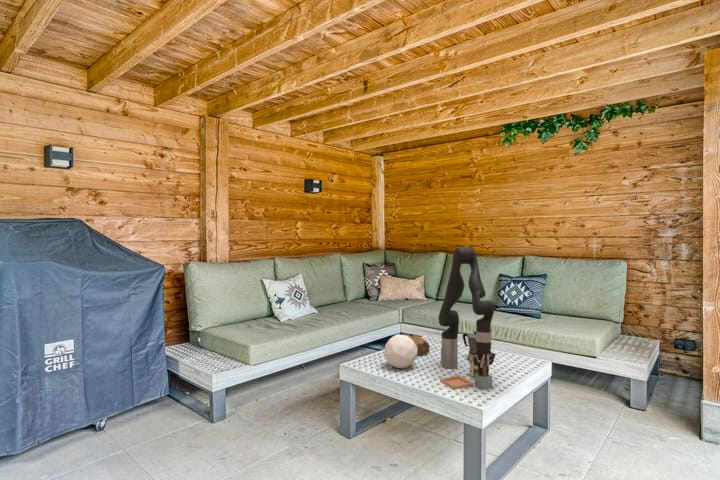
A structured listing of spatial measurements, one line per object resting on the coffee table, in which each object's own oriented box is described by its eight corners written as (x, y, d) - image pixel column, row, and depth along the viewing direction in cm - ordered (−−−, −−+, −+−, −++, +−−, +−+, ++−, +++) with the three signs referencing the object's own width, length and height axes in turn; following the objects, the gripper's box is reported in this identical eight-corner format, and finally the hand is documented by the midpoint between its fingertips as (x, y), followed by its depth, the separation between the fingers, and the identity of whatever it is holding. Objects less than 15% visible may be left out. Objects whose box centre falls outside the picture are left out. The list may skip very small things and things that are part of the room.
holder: (474, 387, 212) (474, 373, 212) (484, 385, 215) (484, 372, 215) (482, 391, 207) (482, 377, 207) (492, 389, 209) (492, 376, 209)
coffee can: (492, 377, 227) (492, 351, 227) (480, 381, 221) (480, 355, 221) (477, 372, 235) (477, 347, 235) (465, 376, 229) (465, 350, 229)
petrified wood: (432, 354, 268) (429, 340, 266) (414, 360, 264) (411, 346, 263) (420, 345, 286) (417, 332, 285) (403, 351, 283) (400, 337, 282)
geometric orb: (393, 380, 242) (372, 353, 242) (405, 359, 259) (385, 334, 258) (417, 370, 231) (396, 342, 231) (428, 349, 248) (408, 323, 247)
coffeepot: (488, 360, 256) (488, 331, 256) (480, 364, 249) (480, 334, 249) (466, 355, 267) (466, 327, 267) (458, 358, 260) (458, 330, 260)
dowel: (479, 386, 212) (479, 359, 211) (483, 385, 213) (483, 358, 212) (482, 388, 209) (482, 360, 209) (487, 387, 210) (487, 360, 210)
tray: (440, 383, 219) (440, 378, 219) (459, 379, 223) (459, 375, 223) (453, 391, 208) (453, 386, 208) (473, 387, 212) (473, 383, 212)
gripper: (489, 336, 216) (489, 369, 217) (467, 339, 211) (467, 373, 212) (499, 340, 209) (499, 374, 210) (476, 343, 204) (476, 378, 205)
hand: (483, 373), depth 211 cm, fingers closed on dowel, 3 cm apart
